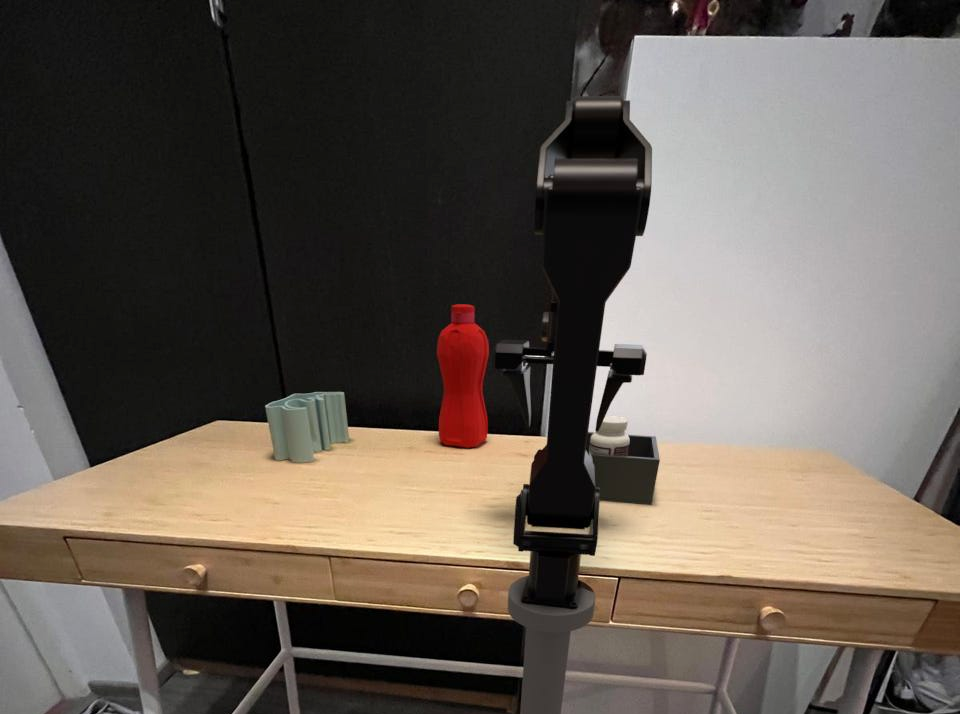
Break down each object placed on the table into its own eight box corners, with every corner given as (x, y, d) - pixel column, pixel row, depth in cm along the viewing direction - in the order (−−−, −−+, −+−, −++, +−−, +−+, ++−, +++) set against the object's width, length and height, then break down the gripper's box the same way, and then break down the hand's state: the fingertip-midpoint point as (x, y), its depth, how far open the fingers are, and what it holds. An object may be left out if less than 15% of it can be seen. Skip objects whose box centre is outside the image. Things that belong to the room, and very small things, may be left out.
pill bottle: (617, 483, 96) (628, 415, 90) (626, 495, 91) (638, 424, 85) (581, 483, 96) (589, 414, 90) (588, 495, 91) (596, 423, 85)
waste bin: (651, 504, 89) (659, 459, 85) (558, 496, 91) (562, 452, 88) (648, 476, 101) (655, 436, 97) (566, 470, 103) (570, 430, 99)
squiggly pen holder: (307, 437, 121) (299, 390, 115) (351, 439, 119) (346, 392, 114) (268, 460, 106) (257, 408, 101) (318, 464, 105) (310, 410, 99)
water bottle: (494, 438, 122) (498, 303, 108) (475, 450, 114) (476, 306, 100) (455, 433, 125) (454, 302, 111) (433, 445, 116) (429, 304, 103)
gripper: (652, 291, 72) (632, 419, 80) (508, 288, 75) (504, 412, 84) (656, 294, 63) (633, 439, 71) (492, 290, 66) (489, 429, 75)
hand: (562, 428), depth 75 cm, fingers open, 9 cm apart
